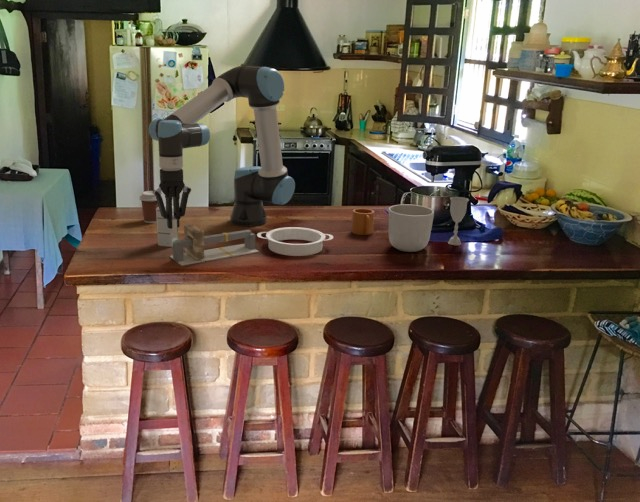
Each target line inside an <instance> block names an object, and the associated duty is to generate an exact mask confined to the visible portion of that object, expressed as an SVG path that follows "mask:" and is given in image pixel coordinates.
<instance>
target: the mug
mask: <svg viewBox="0 0 640 502" xmlns="http://www.w3.org/2000/svg"><path fill="white" fill-rule="evenodd" d="M351 215H352V218H351V232H352V234H354V235H359V236H369V235H372V234H373V233H374V225H375V224H374V223H375V210H373V209H370V208H354V209H352V214H351Z"/></svg>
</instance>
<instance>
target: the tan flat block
mask: <svg viewBox="0 0 640 502" xmlns="http://www.w3.org/2000/svg"><path fill="white" fill-rule="evenodd" d="M183 229H184V230H183V234H184V235H183V236H184V238H183V239H190V238H193V246H191V247H185V248H184V253H187V254H189V255H190V256H192V257H193V258H195V259H196V260H197V259H203V258H204V250H205V244H204V236H205V231H203V230H202V229H200V228H198V227H196V225H193V224H188V225H187V224H186V225H184V226H183Z"/></svg>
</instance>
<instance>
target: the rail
mask: <svg viewBox="0 0 640 502" xmlns="http://www.w3.org/2000/svg"><path fill="white" fill-rule="evenodd" d="M241 239H244V243H239V244H234V245H228V246H221V247H217V248H209V249H204V258H203V259H197V260H196V259H195V258H193V257H192V256H190V255H189V254H187V253H186V252H184V249H185V247H191V246H193V238H190V239H184V238H183V239H178V240H177V243H173V247H172V255H170V256H169V258H171V259H172V260H173V261H174V262H176V263H177V264H179V266H181V267H183V266H188V265H194V264H201V263H205V261H206V262H210V261H216V260H222V259H228V258H232V257H239V256H245V255H246V256H247V255H251V254H256V253H259V252H260V251H259V250H258V249H256V234H255V233H253V232H252V230H251V229H243V230H238V231H237V230H236V231H231V232H222V233H216V234H211V235H204V245H209V244H215V243H220V242H221V243H222V242H225V243H226V242H229V241H234V240H241Z"/></svg>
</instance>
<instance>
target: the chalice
mask: <svg viewBox="0 0 640 502" xmlns="http://www.w3.org/2000/svg"><path fill="white" fill-rule="evenodd" d="M449 199H450V204H449V205H450V206H449V208H450V209H449V212H450V216H451V218H452V221H453V222H455V224H454V230H453V233H454V234H453V235H452V236H451V237H450V238H449V240H448V241H447V243H448V244H449V245H451V246H460V245H462V242H461V239H460V237H458V232H459V231H458V229H459V223H461V222H462V220H463V218H464V217H465V215H466V213H467V207H468V203H469V201H470V199H469V198H468V197H463V196H450V197H449Z"/></svg>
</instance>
